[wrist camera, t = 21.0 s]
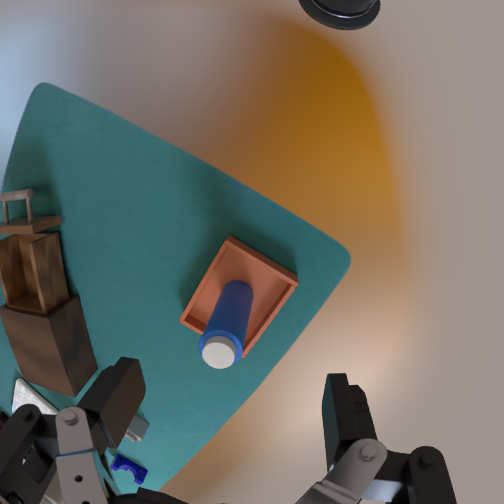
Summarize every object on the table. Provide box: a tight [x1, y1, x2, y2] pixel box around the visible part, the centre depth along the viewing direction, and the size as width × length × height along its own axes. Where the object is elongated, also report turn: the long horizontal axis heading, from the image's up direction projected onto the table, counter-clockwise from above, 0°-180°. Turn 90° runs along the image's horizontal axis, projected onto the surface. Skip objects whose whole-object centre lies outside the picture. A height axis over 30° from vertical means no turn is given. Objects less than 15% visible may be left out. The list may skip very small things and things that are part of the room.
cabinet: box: [0, 294, 98, 397], centre depth 42 cm, size 15×13×9 cm
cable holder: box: [111, 454, 148, 485], centre depth 55 cm, size 8×4×4 cm, turn 53°
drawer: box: [0, 189, 69, 316], centre depth 38 cm, size 18×11×7 cm, turn 0°
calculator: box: [12, 378, 59, 415], centre depth 55 cm, size 13×20×2 cm, turn 143°
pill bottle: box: [199, 280, 254, 369], centre depth 34 cm, size 4×4×14 cm
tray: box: [179, 235, 299, 358], centre depth 40 cm, size 13×10×3 cm
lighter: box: [125, 414, 149, 442], centre depth 47 cm, size 7×2×8 cm, turn 49°
